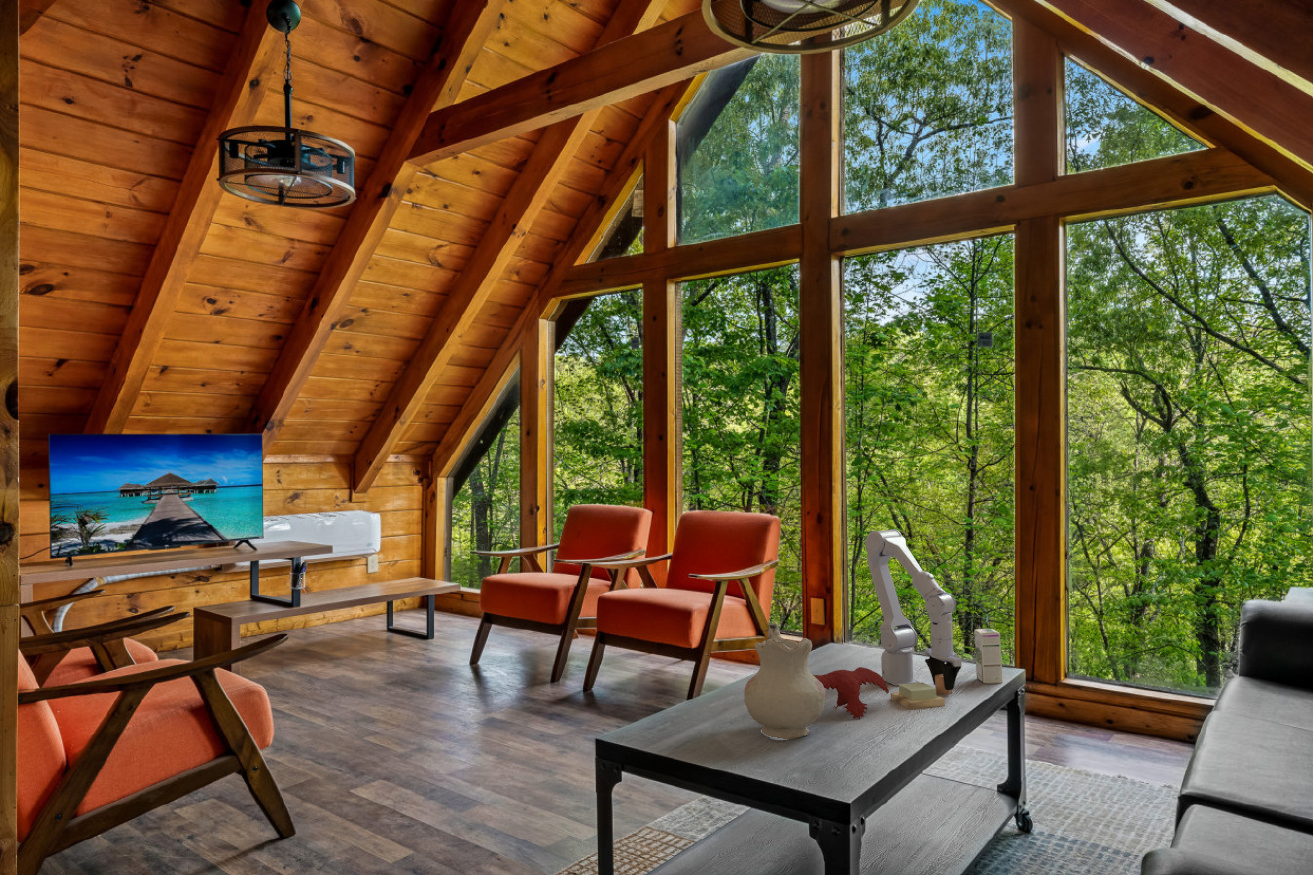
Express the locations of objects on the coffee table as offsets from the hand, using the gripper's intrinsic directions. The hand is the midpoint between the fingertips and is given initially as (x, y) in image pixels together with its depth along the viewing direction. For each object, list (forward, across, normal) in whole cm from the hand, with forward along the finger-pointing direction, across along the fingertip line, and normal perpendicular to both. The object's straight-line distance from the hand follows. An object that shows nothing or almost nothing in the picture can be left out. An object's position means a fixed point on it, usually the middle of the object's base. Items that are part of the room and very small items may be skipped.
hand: (943, 687), depth 238 cm
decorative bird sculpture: (+2, -8, +34) cm, 35 cm away
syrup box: (+2, +6, -19) cm, 20 cm away
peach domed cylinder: (+2, 0, 0) cm, 2 cm away
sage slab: (0, -6, +12) cm, 14 cm away
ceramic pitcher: (+2, -16, +55) cm, 57 cm away
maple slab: (+2, -6, +12) cm, 14 cm away
